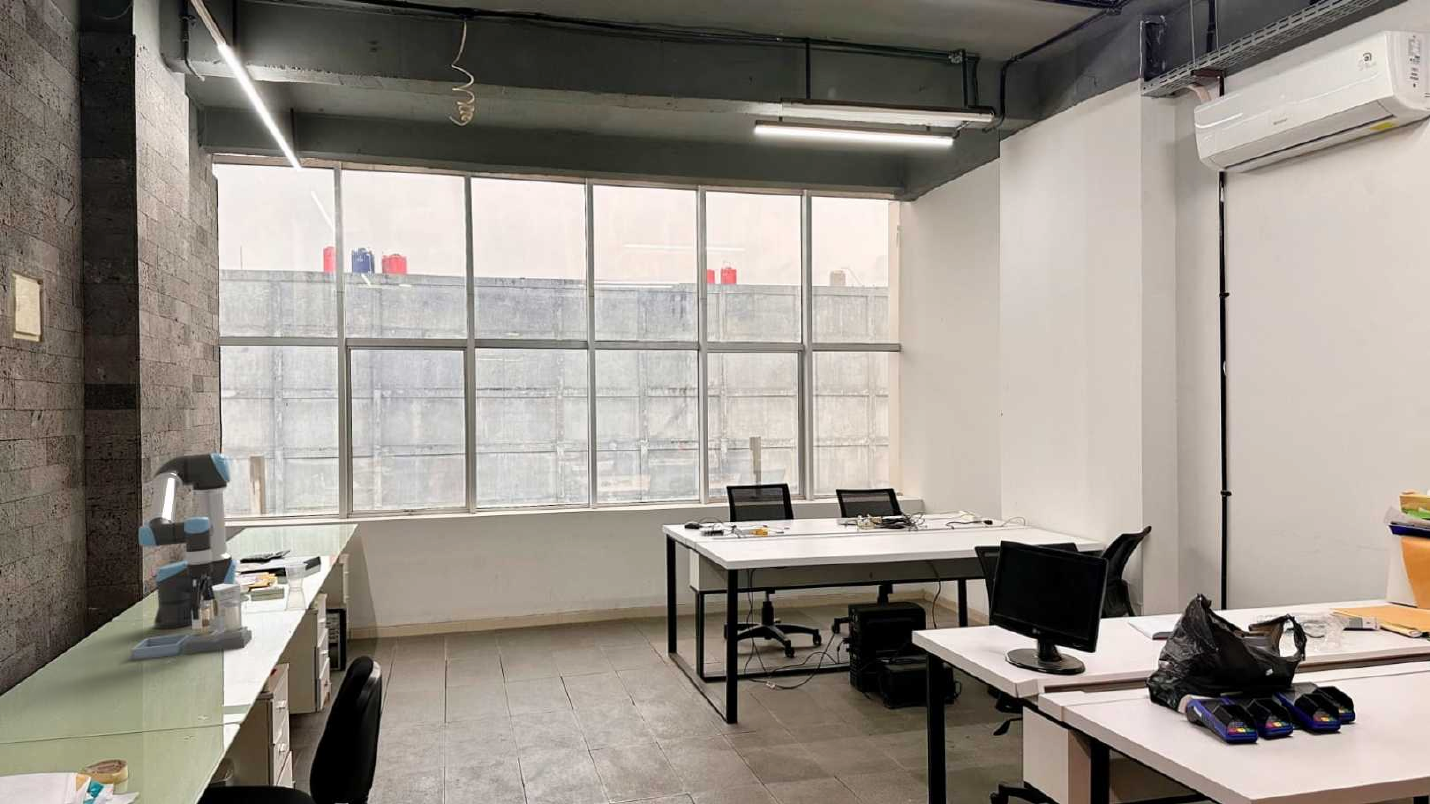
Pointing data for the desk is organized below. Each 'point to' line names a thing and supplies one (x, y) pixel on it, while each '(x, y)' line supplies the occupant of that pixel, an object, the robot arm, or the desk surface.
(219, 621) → the supplement box
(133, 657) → the parts tray
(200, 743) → the desk surface
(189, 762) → the desk surface
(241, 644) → the fuse holder
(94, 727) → the desk surface
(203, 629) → the fuse
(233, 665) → the desk surface
